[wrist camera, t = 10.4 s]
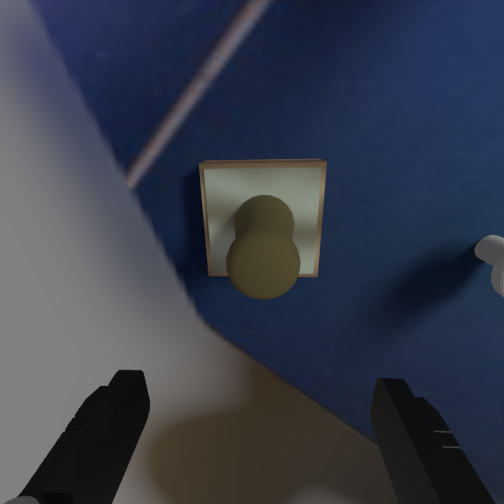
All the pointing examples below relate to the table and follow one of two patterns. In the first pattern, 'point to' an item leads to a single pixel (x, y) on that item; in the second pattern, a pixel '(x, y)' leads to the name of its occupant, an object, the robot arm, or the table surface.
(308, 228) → the base block
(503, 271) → the grey mechanical part
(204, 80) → the table surface
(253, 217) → the cork
